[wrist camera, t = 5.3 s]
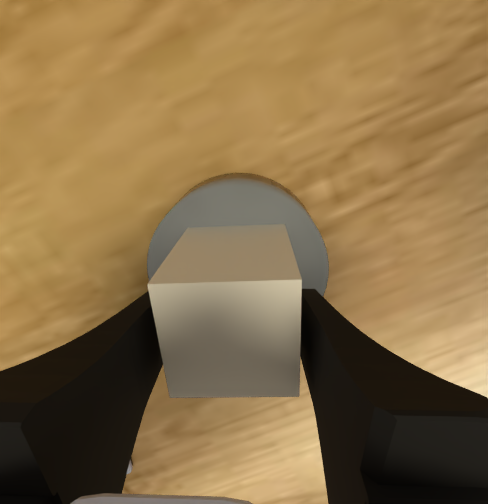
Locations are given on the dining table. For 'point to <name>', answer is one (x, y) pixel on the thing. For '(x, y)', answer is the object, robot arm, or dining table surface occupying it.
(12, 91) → the dining table surface
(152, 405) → the dining table surface
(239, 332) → the cream block
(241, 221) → the grey disc
